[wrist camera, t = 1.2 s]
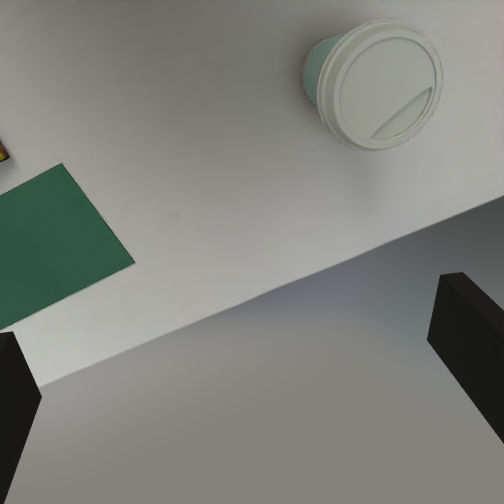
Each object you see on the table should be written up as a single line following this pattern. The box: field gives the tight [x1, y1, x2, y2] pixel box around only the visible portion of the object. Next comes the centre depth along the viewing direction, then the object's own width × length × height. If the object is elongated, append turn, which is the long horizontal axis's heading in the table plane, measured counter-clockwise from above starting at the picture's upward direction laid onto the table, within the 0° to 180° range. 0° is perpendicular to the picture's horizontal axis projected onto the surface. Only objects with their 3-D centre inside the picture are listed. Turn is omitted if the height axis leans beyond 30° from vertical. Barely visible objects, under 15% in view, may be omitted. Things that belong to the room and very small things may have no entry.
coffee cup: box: [301, 19, 443, 151], centre depth 33 cm, size 8×9×12 cm
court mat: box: [0, 163, 135, 330], centre depth 42 cm, size 12×21×1 cm, turn 115°
